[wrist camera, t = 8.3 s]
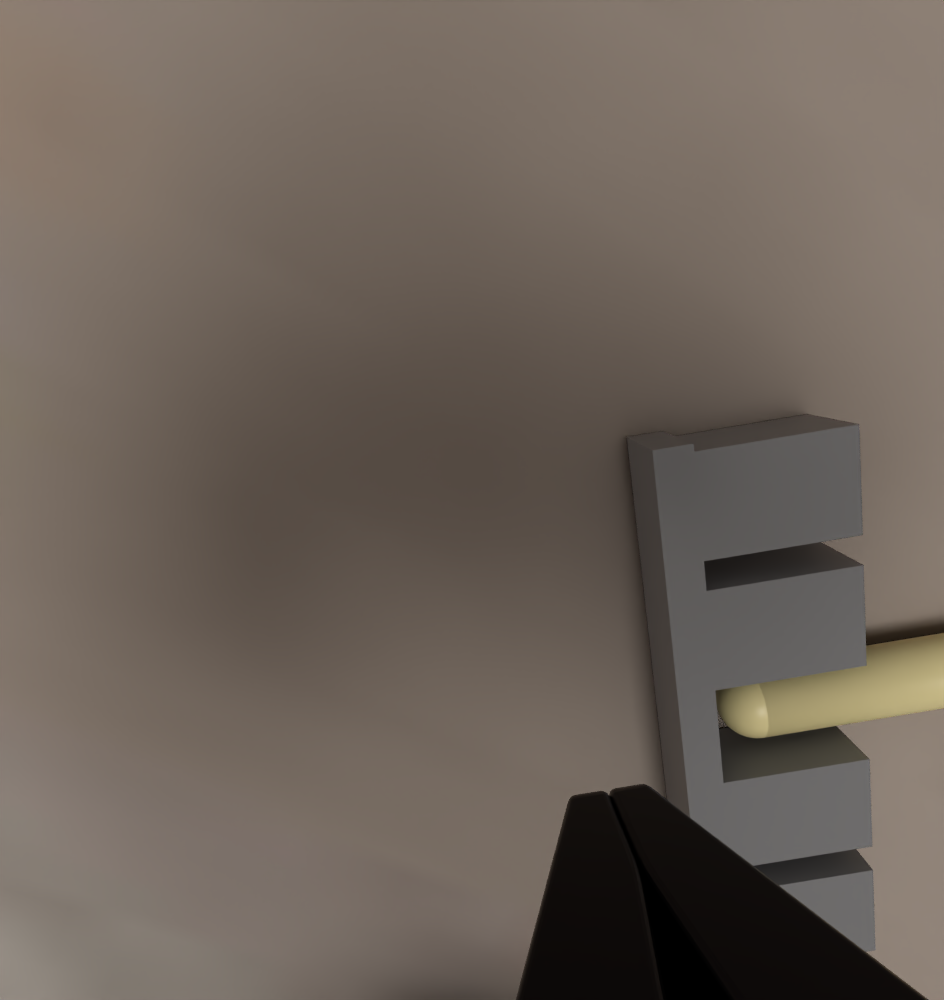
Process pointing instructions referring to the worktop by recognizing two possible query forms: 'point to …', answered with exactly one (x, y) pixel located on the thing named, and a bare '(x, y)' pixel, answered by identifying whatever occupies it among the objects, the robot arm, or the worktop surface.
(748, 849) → the cord rig
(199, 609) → the worktop surface
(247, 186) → the worktop surface
